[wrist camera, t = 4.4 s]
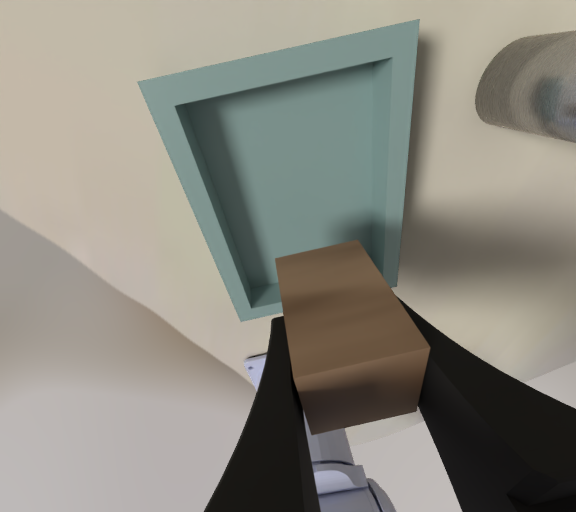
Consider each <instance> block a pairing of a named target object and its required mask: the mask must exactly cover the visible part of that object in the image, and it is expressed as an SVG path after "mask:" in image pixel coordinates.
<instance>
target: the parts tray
mask: <svg viewBox="0 0 576 512" xmlns="http://www.w3.org/2000/svg"><path fill="white" fill-rule="evenodd" d="M419 21H420V19H418V20H413V21H409V22H404V23H400V24H395V25H391V26H386V27H382V28H377V29H373V30H368V31H364V32H359V33H355V34H350V35H346V36H341V37H337V38H332V39H328V40H323V41H319V42H314V43H310V44H305V45H301V46H296V47H292V48H287V49H283V50H278V51H274V52H269V53H265V54H260V55H256V56H251V57H247V58H242V59H238V60H233V61H229V62H224V63H220V64H215V65H211V66H206V67H202V68H197V69H193V70H188V71H184V72H179V73H175V74H170V75H166V76H161V77H157V78H152V79H148V80H143V81H139V82H138V85H139V87H140V89H141V92H142V94H143V96H144V99H145V101H146V103H147V106H148V108H149V110H150V113H151V115H152V117H153V120H154V122H155V124H156V127H157V129H158V131H159V133H160V136H161V138H162V140H163V143H164V145H165V147H166V150H167V152H168V154H169V157H170V159H171V161H172V164H173V166H174V168H175V171H176V173H177V175H178V177H179V180H180V182H181V184H182V187H183V189H184V191H185V194H186V196H187V198H188V201H189V203H190V205H191V208H192V210H193V212H194V215H195V217H196V219H197V222H198V224H199V226H200V228H201V231H202V233H203V235H204V238H205V240H206V242H207V245H208V247H209V249H210V252H211V254H212V256H213V259H214V261H215V263H216V266H217V268H218V270H219V273H220V275H221V277H222V279H223V282H224V284H225V286H226V289H227V291H228V293H229V296H230V298H231V300H232V303H233V305H234V307H235V310H236V312H237V314H238V317H239V319H240V321H241V322H242V321H247V320H251V319H256V318H260V317H265V316H269V315H273V314H278V313H282V312H283V308H282V301H281V295H280V289H279V282H278V276H277V269H276V263H275V258H278V257H283V256H287V255H292V254H296V253H300V252H305V251H309V250H314V249H318V248H323V247H327V246H331V245H336V244H340V243H345V242H349V241H353V240H358V241H359V242H360V244H361V245H362V246H363V248H364V249H365V251H366V252H367V254H368V255H369V257H370V258H371V260H372V261H373V263H374V264H375V266H376V267H377V269H378V270H379V272H380V273H381V275H382V276H383V278H384V279H385V281H386V282H387V284H388V285H389V287H390V288H392V287H397V279H398V267H399V255H400V244H401V232H402V220H403V208H404V197H405V185H406V173H407V161H408V150H409V138H410V126H411V115H412V103H413V91H414V79H415V68H416V56H417V44H418V32H419Z"/></svg>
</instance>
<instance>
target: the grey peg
mask: <svg viewBox="0 0 576 512" xmlns="http://www.w3.org/2000/svg"><path fill="white" fill-rule="evenodd" d="M475 104H476V110H477V113H478V116H479V117H480V119H481V120H482V121H484V122H485V123H487V124H490V125H495V126H500V127H504V128H509V129H514V130H518V131H523V132H528V133H532V134H537V135H541V136H546V137H551V138H555V139H560V140H565V141H569V142H574V143H576V31H568V32H560V33H552V34H544V35H536V36H528V37H523V38H520V39H518V40H515V41H514V42H512V43H510V44H509V45H507V46H506V47H505V48H503V49H502V50H501V51H500V52H499V53H498V54H497V55H496V56H495V57H494V58H493V60H492V61H491V62H490V64H489V65H488V67H487V68H486V70H485V71H484V73H483V75H482V77H481V79H480V82H479V85H478V88H477V92H476V99H475Z"/></svg>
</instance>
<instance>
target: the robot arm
mask: <svg viewBox="0 0 576 512" xmlns="http://www.w3.org/2000/svg"><path fill="white" fill-rule="evenodd" d="M396 297H397V296H396ZM397 298H398V297H397ZM398 300H399V301H400V303H401V304H402V306H403V307H404V309H405V310H406V312H407V313H408V315H409V316H410V318H411V319H412V321H413V322H414V324H415V325H416V327H417V328H418V330H419V331H420V332H421V334H422V335H423V337H424V338H425V340H426V341H427V343H428V344H429V346H430V352H429V356H428V361H427V365H426V370H425V374H424V379H423V383H422V388H421V392H420V397H419V402H418V407H419V409H420V411H421V414H422V416H423V418H424V420H425V422H426V425H427V427H428V429H429V431H430V434H431V436H432V438H433V441H434V443H435V445H436V448H437V450H438V452H439V455H440V457H441V459H442V462H443V464H444V467H445V469H446V471H447V474H448V476H449V479H450V481H451V484H452V486H453V489H454V491H455V494H456V496H457V499H458V502H459V504H460V507H461V509H462V511H463V512H576V409H575V408H573V407H571V406H568V405H566V404H564V403H562V402H560V401H558V400H556V399H554V398H552V397H550V396H548V395H545V394H543V393H541V392H539V391H537V390H535V389H533V388H532V387H530V386H528V385H526V384H524V383H522V382H520V381H519V380H517V379H515V378H513V377H511V376H509V375H507V374H505V373H504V372H502V371H500V370H498V369H497V368H495V367H493V366H492V365H490V364H488V363H487V362H485V361H483V360H482V359H480V358H478V357H477V356H475V355H474V354H472V353H470V352H469V351H467V350H466V349H464V348H463V347H461V346H460V345H458V344H457V343H456V342H454V341H453V340H451V339H450V338H448V337H447V336H446V335H444V334H443V333H442V332H440V331H439V330H437V329H436V328H435V327H434V326H432V325H431V324H430V323H428V322H427V321H426V320H425V319H423V318H422V317H421V316H420V315H418V314H417V313H416V312H415V311H413V310H412V309H411V308H410V307H409V306H407V305H406V304H405V303H404V302H403V301H402V300H400V299H399V298H398ZM244 366H245V368H246V370H247V372H248V374H249V377H250V379H251V381H252V383H253V385H254V387H255V389H256V391H257V393H256V397H255V400H254V402H253V405H252V408H251V411H250V414H249V416H248V419H247V421H246V424H245V427H244V429H243V431H242V434H241V436H240V439H239V441H238V443H237V446H236V448H235V450H234V452H233V454H232V457H231V459H230V461H229V463H228V465H227V467H226V469H225V471H224V474H223V476H222V478H221V480H220V482H219V484H218V486H217V488H216V489H215V491H214V493H213V495H212V497H211V499H210V501H209V503H208V505H207V506H206V508H205V510H204V512H396V510H395V508H394V506H393V504H392V502H391V500H390V499H389V497H388V496H387V494H386V493H385V491H384V490H383V489H382V488H381V487H380V486H379V485H378V484H377V483H376V482H375V481H374V480H373V479H371V478H366V476H365V473H364V469H363V466H362V465H355V464H354V461H353V457H352V453H351V450H350V446H349V443H348V439H347V435H346V432H345V428H342V429H338V430H333V431H329V432H325V433H320V434H316V435H311V432H310V429H309V426H308V423H307V420H306V417H305V413H304V410H303V407H302V404H301V401H300V397H299V394H298V391H297V388H296V385H295V382H294V378H293V372H292V366H291V359H290V353H289V346H288V340H287V334H286V327H285V321H284V316H281V317H277V318H273V319H272V320H271V333H270V340H269V346H268V351H267V354H266V355H262V356H257V357H253V358H248V359H246V360H245V361H244Z"/></svg>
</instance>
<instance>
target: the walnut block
mask: <svg viewBox="0 0 576 512" xmlns="http://www.w3.org/2000/svg"><path fill="white" fill-rule="evenodd" d="M275 263H276V269H277V276H278V282H279V289H280V295H281V301H282V308H283V314H284V321H285V327H286V334H287V340H288V346H289V353H290V359H291V366H292V372H293V378H294V382H295V385H296V388H297V391H298V394H299V397H300V401H301V404H302V407H303V410H304V413H305V417H306V420H307V423H308V426H309V429H310V432H311V435H316V434H320V433H325V432H329V431H333V430H338V429H342V428H346V427H351V426H355V425H360V424H364V423H368V422H373V421H377V420H381V419H386V418H390V417H395V416H399V415H403V414H408V413H412V412H416V411H417V406H418V402H419V397H420V392H421V388H422V383H423V379H424V374H425V370H426V365H427V361H428V356H429V352H430V346H429V344H428V343H427V341H426V340H425V338H424V337H423V335H422V334H421V332H420V331H419V330H418V328H417V327H416V325H415V324H414V322H413V321H412V319H411V318H410V316H409V315H408V313H407V312H406V310H405V309H404V307H403V306H402V304H401V303H400V301H399V300H398V298H397V297H396V295H395V294H394V292H393V291H392V289H391V288H390V287H389V285H388V284H387V282H386V281H385V279H384V278H383V276H382V275H381V273H380V272H379V270H378V269H377V267H376V266H375V264H374V263H373V261H372V260H371V258H370V257H369V255H368V254H367V252H366V251H365V249H364V248H363V246H362V245H361V244H360V242H359V241H358V240H353V241H349V242H345V243H340V244H336V245H331V246H327V247H323V248H318V249H314V250H309V251H305V252H300V253H296V254H292V255H287V256H283V257H278V258H275Z"/></svg>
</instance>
